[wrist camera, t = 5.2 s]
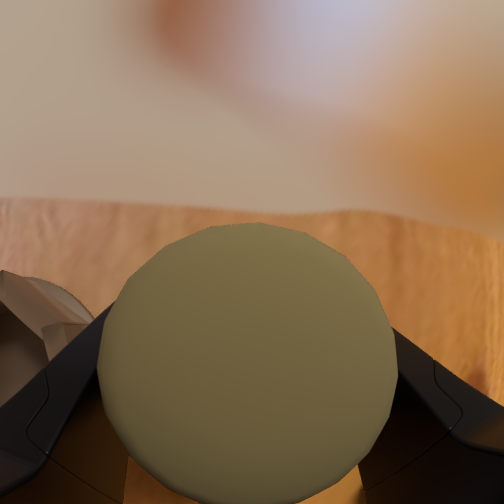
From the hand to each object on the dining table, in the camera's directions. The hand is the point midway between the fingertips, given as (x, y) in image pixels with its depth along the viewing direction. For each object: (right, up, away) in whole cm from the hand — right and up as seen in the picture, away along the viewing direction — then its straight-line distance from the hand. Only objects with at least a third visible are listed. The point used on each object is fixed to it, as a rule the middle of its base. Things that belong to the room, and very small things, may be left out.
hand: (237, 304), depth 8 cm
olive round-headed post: (-1, -3, +6) cm, 7 cm away
